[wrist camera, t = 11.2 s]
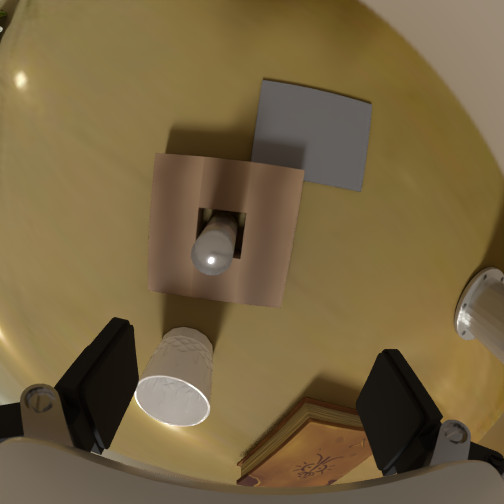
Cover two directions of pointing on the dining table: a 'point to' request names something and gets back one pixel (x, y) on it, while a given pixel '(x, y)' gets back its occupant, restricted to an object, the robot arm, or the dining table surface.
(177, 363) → the white cup
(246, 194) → the hole block
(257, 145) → the mat
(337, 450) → the diary
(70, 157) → the dining table surface
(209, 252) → the peg
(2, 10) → the green leafy plant
